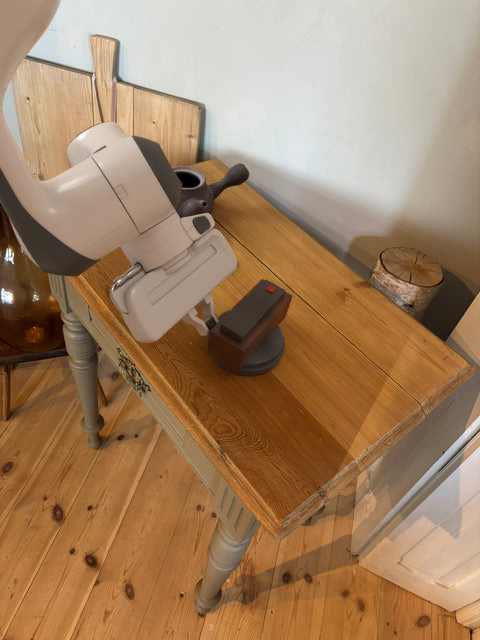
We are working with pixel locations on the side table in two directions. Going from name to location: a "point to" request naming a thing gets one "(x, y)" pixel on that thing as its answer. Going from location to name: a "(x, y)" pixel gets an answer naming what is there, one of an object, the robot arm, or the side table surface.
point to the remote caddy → (251, 328)
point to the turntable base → (253, 370)
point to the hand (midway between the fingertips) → (210, 329)
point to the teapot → (204, 189)
